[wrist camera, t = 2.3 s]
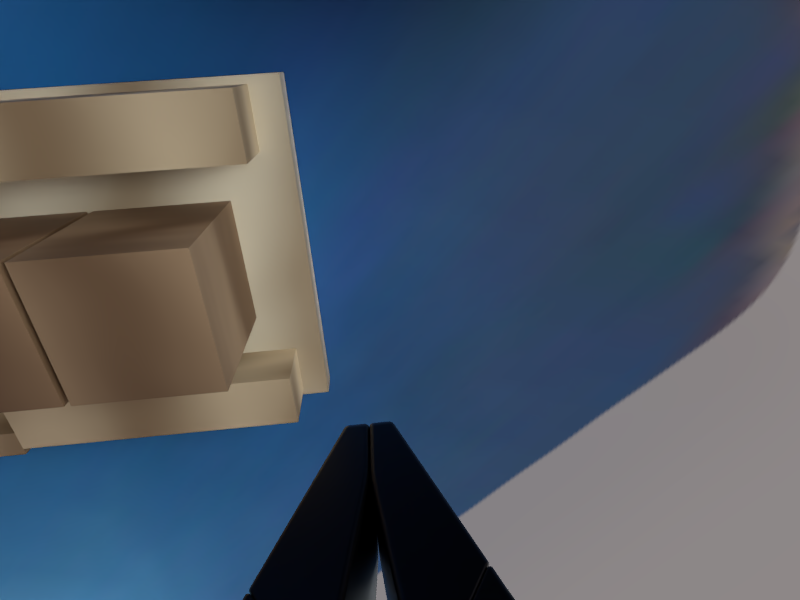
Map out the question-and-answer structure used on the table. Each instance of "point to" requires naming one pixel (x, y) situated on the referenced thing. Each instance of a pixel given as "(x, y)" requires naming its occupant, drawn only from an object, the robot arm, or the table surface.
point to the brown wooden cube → (25, 322)
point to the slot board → (173, 185)
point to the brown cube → (140, 302)
